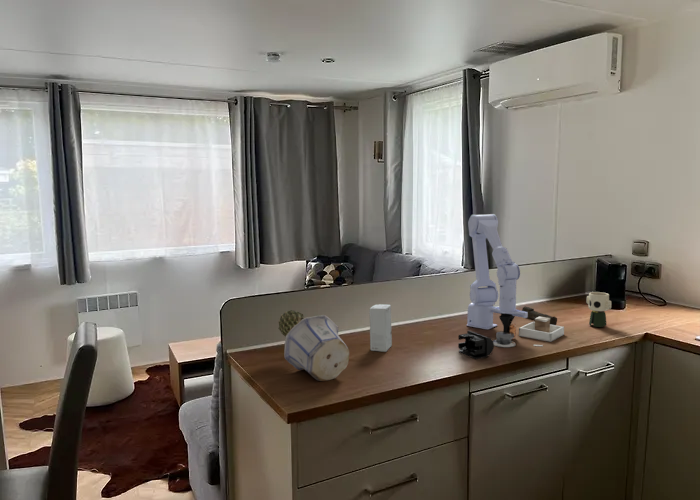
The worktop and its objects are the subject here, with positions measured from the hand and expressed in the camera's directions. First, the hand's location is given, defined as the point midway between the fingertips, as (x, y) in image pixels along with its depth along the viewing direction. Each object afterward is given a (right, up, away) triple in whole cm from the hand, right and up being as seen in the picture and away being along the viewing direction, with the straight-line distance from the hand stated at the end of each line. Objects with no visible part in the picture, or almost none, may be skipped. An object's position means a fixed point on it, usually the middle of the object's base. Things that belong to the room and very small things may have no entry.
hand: (506, 334), depth 194 cm
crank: (-1, -1, -4) cm, 4 cm away
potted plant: (-70, -6, -29) cm, 76 cm away
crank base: (+1, -2, -8) cm, 9 cm away
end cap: (-16, -4, -17) cm, 24 cm away
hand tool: (+19, +1, +25) cm, 31 cm away
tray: (+14, -1, +3) cm, 14 cm away
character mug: (+40, +1, +14) cm, 42 cm away
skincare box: (-46, -3, -10) cm, 47 cm away
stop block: (+14, -1, +3) cm, 14 cm away
